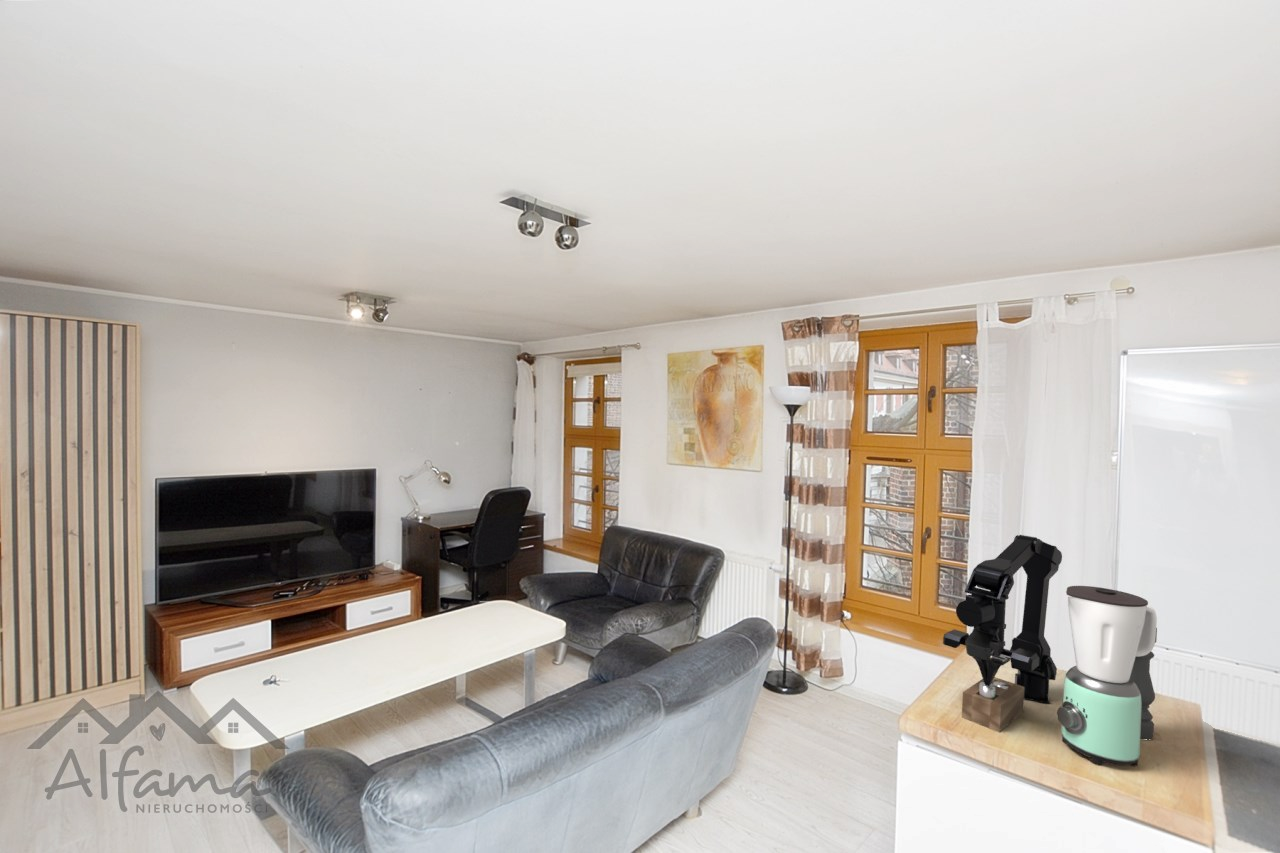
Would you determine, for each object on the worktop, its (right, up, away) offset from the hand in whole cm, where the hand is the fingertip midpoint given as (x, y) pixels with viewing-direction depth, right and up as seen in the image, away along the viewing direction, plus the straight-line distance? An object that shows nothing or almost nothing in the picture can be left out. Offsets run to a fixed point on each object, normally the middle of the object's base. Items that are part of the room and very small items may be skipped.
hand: (987, 685), depth 134 cm
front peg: (0, -6, 0) cm, 6 cm away
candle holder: (+32, -10, -3) cm, 34 cm away
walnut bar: (+3, -8, +3) cm, 9 cm away
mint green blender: (+17, -9, -12) cm, 23 cm away
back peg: (+7, -8, +6) cm, 12 cm away
